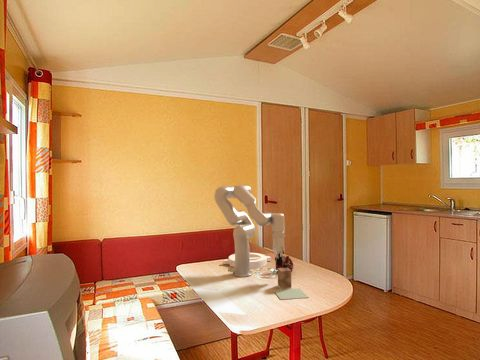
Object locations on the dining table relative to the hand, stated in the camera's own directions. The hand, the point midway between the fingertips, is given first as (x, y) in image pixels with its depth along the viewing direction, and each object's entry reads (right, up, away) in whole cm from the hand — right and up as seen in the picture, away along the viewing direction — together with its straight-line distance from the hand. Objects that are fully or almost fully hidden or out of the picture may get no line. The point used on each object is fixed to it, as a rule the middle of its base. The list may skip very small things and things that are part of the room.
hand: (279, 264), depth 177 cm
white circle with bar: (-18, -11, +41) cm, 46 cm away
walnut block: (+1, -10, -11) cm, 14 cm away
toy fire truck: (+6, -10, +18) cm, 22 cm away
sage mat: (+3, -9, -21) cm, 23 cm away
